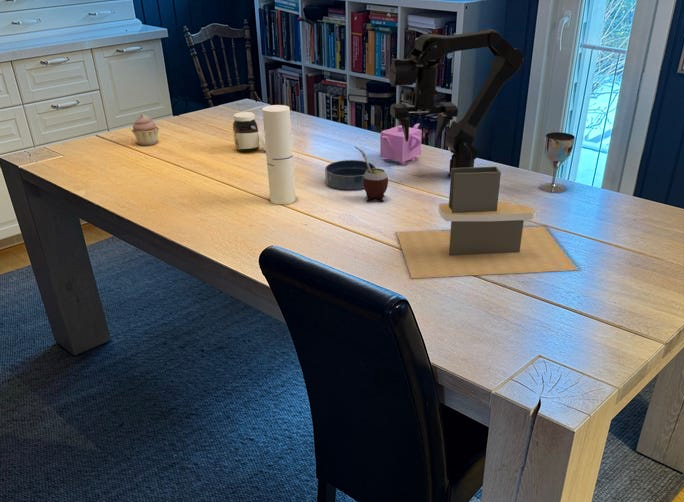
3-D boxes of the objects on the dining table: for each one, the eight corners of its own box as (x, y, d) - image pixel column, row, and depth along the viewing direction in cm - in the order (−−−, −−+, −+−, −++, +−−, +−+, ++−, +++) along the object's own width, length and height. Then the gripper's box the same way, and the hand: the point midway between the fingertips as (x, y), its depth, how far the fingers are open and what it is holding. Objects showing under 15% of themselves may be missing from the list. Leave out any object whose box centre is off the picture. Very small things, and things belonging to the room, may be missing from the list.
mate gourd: (393, 199, 191) (393, 146, 182) (372, 206, 187) (372, 152, 178) (375, 192, 196) (375, 140, 187) (354, 199, 191) (353, 145, 183)
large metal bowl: (385, 179, 204) (385, 166, 202) (355, 194, 194) (355, 179, 192) (346, 170, 212) (346, 157, 209) (315, 183, 202) (314, 169, 200)
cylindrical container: (291, 205, 188) (284, 112, 174) (266, 203, 189) (258, 111, 175) (298, 196, 193) (292, 105, 179) (274, 194, 195) (267, 104, 181)
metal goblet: (535, 190, 196) (542, 138, 188) (542, 181, 202) (550, 130, 194) (562, 194, 193) (571, 141, 185) (569, 186, 199) (577, 134, 191)
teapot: (423, 167, 214) (424, 132, 208) (381, 167, 214) (381, 132, 208) (418, 152, 227) (419, 119, 221) (378, 153, 226) (379, 120, 220)
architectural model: (543, 226, 174) (555, 149, 163) (578, 270, 153) (594, 185, 142) (396, 232, 171) (398, 155, 160) (411, 278, 150) (414, 192, 139)
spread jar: (232, 147, 233) (228, 112, 226) (264, 143, 237) (261, 108, 230) (242, 157, 224) (238, 121, 217) (275, 152, 228) (272, 116, 221)
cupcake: (133, 140, 240) (127, 111, 234) (160, 138, 242) (155, 109, 236) (134, 148, 232) (128, 118, 227) (162, 145, 235) (156, 116, 229)
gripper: (448, 77, 197) (443, 131, 206) (386, 78, 193) (384, 133, 202) (461, 86, 188) (455, 142, 197) (396, 87, 184) (393, 145, 193)
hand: (421, 140), depth 197 cm, fingers open, 9 cm apart
